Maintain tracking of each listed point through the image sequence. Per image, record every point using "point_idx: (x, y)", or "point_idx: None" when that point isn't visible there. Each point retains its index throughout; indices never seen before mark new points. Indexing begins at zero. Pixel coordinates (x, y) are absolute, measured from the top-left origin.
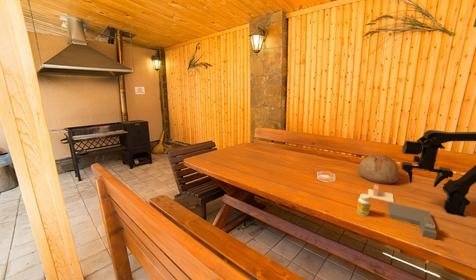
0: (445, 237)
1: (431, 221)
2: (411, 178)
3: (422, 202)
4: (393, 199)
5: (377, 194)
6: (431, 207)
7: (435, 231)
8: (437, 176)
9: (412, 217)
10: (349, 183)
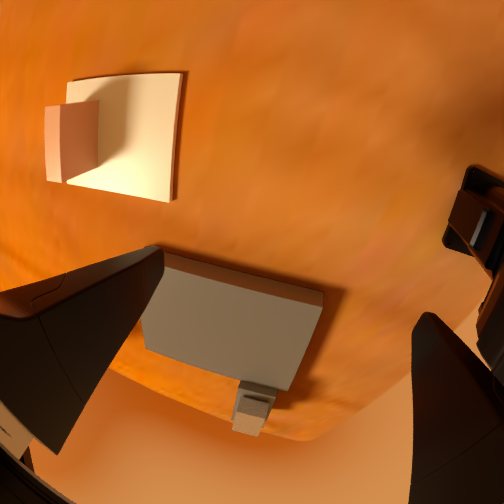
0: (304, 400)
1: (254, 426)
2: (114, 346)
3: (365, 130)
4: (171, 166)
5: (87, 171)
6: (392, 193)
7: (263, 423)
8: (473, 465)
9: (219, 363)
10: (19, 69)
